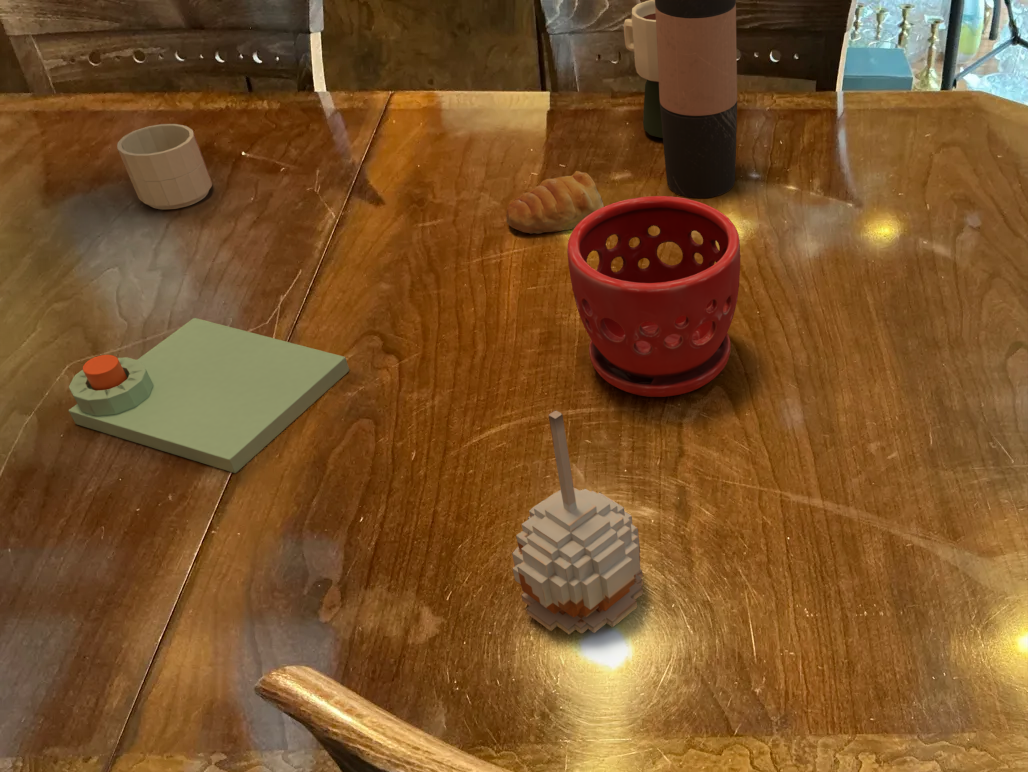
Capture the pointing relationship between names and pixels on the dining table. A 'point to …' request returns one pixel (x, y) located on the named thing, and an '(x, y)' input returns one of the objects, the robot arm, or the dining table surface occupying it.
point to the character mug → (646, 61)
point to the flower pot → (656, 294)
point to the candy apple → (577, 554)
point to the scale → (209, 393)
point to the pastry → (555, 204)
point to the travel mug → (698, 94)
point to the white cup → (165, 166)
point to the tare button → (104, 372)
